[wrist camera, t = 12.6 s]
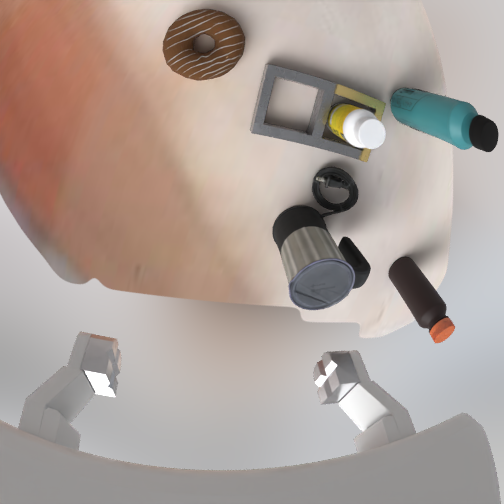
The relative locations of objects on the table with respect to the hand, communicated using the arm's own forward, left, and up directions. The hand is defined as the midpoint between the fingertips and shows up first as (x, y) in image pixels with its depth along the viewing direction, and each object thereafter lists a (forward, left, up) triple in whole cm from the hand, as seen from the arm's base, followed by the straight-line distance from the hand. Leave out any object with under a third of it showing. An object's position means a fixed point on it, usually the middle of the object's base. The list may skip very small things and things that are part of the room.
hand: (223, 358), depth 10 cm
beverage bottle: (-14, +26, -34) cm, 45 cm away
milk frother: (+8, +17, -34) cm, 39 cm away
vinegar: (+18, +43, -34) cm, 58 cm away
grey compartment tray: (-8, +13, -34) cm, 37 cm away
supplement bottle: (-8, +17, -34) cm, 39 cm away
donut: (-14, -5, -34) cm, 38 cm away
